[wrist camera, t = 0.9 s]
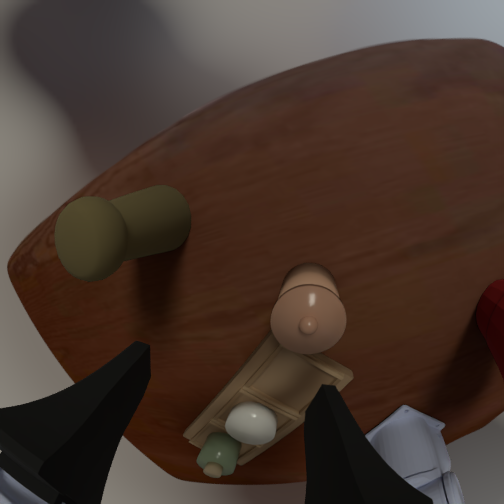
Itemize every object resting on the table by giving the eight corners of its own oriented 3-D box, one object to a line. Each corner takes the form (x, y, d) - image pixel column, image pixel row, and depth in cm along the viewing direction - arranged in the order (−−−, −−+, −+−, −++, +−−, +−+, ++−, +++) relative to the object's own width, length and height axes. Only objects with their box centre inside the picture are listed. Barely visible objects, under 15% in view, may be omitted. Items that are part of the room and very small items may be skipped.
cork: (148, 260, 25) (65, 305, 14) (125, 201, 24) (33, 218, 13) (202, 238, 23) (124, 280, 13) (176, 173, 22) (84, 171, 12)
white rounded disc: (287, 416, 25) (285, 429, 23) (261, 437, 26) (257, 450, 24) (245, 394, 25) (240, 407, 23) (221, 417, 27) (216, 429, 25)
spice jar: (349, 281, 22) (363, 319, 15) (315, 324, 23) (315, 373, 17) (301, 249, 22) (298, 277, 15) (269, 295, 23) (253, 337, 17)
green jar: (248, 443, 27) (238, 476, 22) (231, 455, 28) (220, 485, 23) (216, 427, 27) (202, 459, 22) (201, 440, 29) (187, 470, 24)
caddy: (352, 370, 23) (353, 381, 22) (243, 459, 30) (240, 468, 28) (274, 325, 24) (271, 334, 22) (185, 429, 30) (181, 438, 29)
